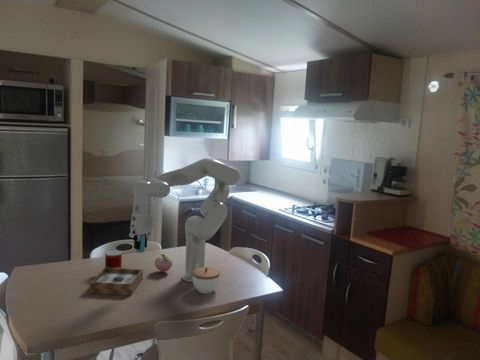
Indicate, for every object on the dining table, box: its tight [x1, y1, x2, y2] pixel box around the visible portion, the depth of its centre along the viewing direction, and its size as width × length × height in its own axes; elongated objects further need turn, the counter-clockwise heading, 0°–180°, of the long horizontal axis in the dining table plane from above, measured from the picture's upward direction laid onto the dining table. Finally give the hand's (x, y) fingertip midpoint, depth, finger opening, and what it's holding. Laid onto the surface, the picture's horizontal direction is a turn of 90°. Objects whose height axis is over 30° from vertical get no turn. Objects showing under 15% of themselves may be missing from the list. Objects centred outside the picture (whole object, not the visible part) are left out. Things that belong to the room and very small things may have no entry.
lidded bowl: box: [192, 266, 220, 295], centre depth 180 cm, size 13×13×11 cm
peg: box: [135, 234, 146, 254], centre depth 176 cm, size 4×4×10 cm
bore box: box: [89, 266, 144, 296], centre depth 181 cm, size 19×19×5 cm
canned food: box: [104, 249, 123, 268], centre depth 195 cm, size 8×8×11 cm
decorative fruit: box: [154, 253, 173, 273], centre depth 200 cm, size 9×8×10 cm
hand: (140, 247), depth 176 cm, fingers closed on peg, 3 cm apart
